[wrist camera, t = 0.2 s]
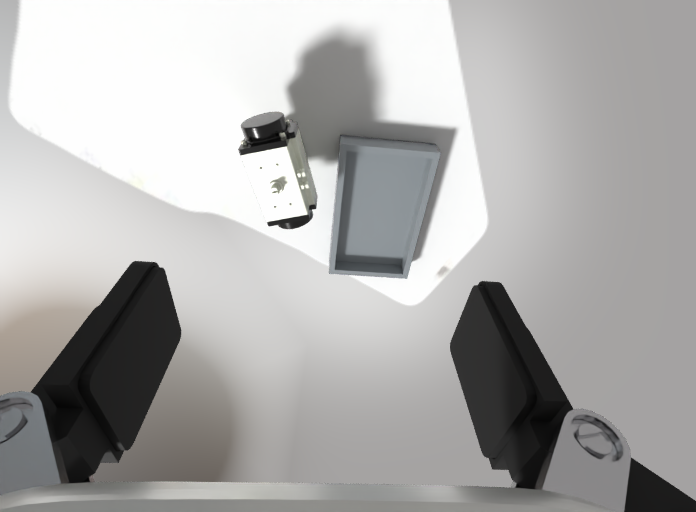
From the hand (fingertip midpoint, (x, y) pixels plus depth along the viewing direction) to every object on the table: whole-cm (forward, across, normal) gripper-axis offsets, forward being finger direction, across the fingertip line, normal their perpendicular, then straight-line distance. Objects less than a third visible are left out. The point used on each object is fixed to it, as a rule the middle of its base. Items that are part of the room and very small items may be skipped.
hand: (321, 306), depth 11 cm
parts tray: (+36, -7, +16) cm, 40 cm away
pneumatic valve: (+36, +5, +8) cm, 38 cm away
